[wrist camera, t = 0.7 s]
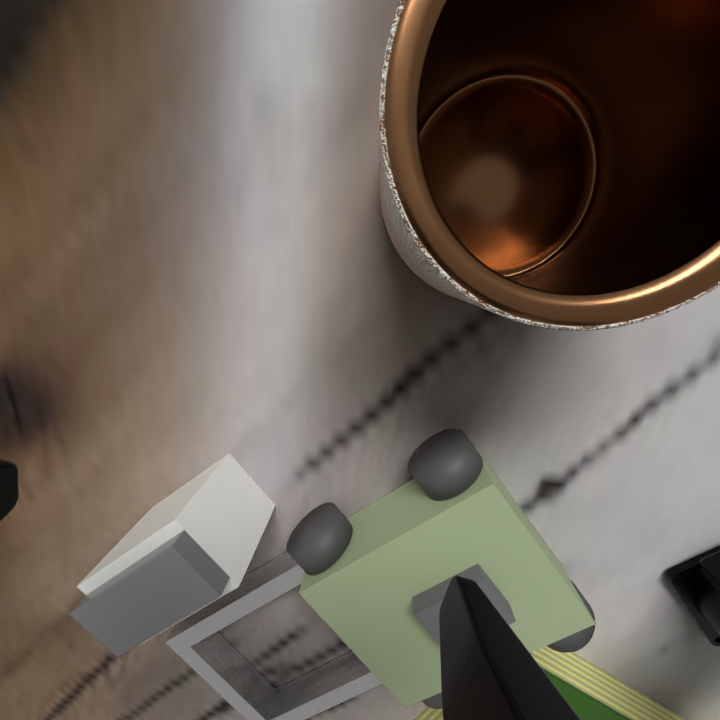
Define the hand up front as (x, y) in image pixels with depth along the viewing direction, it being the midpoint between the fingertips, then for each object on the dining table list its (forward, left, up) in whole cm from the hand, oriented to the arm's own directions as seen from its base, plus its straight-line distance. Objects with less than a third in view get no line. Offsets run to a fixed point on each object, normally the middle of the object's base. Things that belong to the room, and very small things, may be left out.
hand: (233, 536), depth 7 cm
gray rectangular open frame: (-14, +14, -13) cm, 24 cm away
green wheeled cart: (-14, +2, -13) cm, 19 cm away
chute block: (-3, +12, -14) cm, 19 cm away
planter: (+2, -12, -14) cm, 18 cm away
